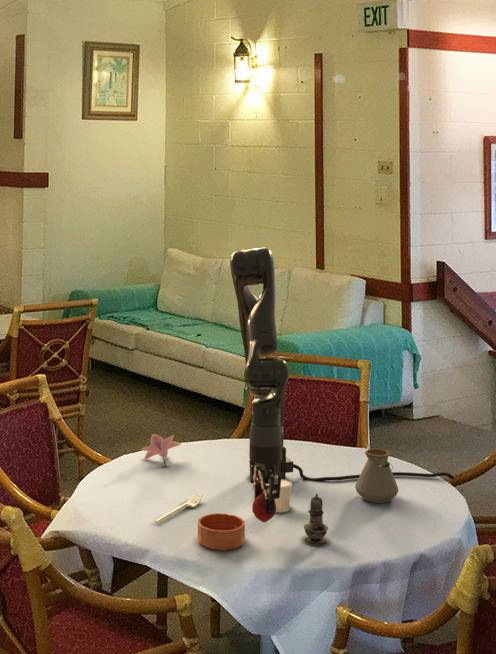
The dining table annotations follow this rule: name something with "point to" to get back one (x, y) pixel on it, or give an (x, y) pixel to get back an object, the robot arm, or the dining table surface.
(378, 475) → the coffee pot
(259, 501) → the onion
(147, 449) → the lily
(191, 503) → the fork
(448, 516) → the dining table surface
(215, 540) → the bowl
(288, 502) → the cream cylinder
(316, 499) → the pawn-shaped pepper mill
